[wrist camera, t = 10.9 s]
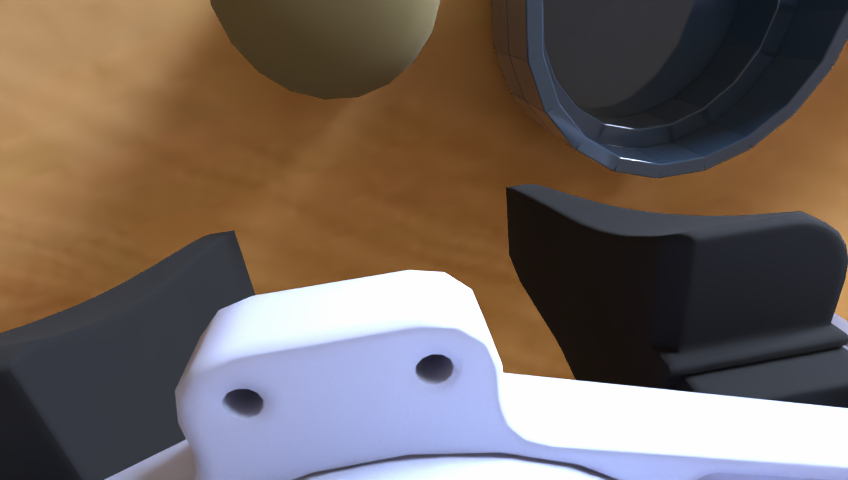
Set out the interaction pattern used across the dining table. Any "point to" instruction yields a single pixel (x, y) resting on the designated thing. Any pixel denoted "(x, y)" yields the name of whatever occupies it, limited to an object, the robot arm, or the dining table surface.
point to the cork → (328, 41)
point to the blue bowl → (665, 73)
